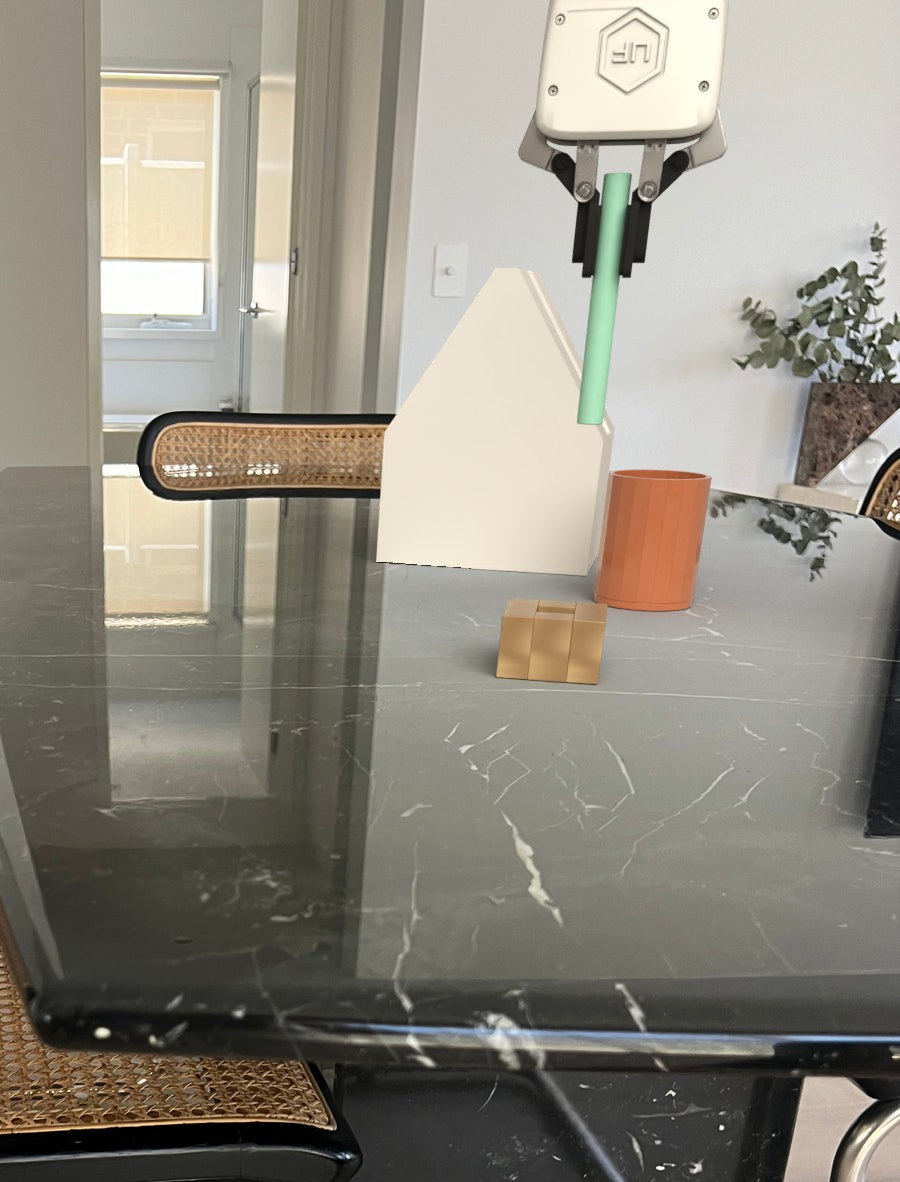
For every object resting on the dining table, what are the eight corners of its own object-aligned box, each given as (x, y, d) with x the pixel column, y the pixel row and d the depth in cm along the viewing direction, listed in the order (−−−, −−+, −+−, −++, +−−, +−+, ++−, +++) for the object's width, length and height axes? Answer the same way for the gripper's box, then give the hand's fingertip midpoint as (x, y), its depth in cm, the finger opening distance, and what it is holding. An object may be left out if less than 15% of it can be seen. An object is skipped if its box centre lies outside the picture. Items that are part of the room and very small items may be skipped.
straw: (602, 423, 93) (632, 174, 87) (602, 425, 92) (632, 172, 86) (576, 422, 94) (604, 175, 88) (576, 424, 92) (604, 172, 86)
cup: (690, 596, 122) (709, 471, 118) (693, 613, 116) (713, 481, 111) (594, 591, 124) (609, 467, 120) (591, 607, 117) (608, 477, 113)
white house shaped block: (376, 562, 137) (395, 267, 127) (406, 540, 150) (426, 271, 140) (586, 575, 131) (624, 268, 121) (599, 551, 145) (634, 272, 135)
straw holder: (599, 663, 99) (607, 603, 97) (597, 684, 93) (605, 621, 92) (503, 657, 100) (509, 598, 99) (495, 677, 95) (502, 615, 93)
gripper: (500, -95, 80) (470, 275, 88) (805, -113, 76) (746, 276, 84) (509, -64, 87) (481, 278, 94) (790, -79, 83) (737, 279, 91)
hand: (606, 275), depth 89 cm, fingers closed on straw, 1 cm apart
